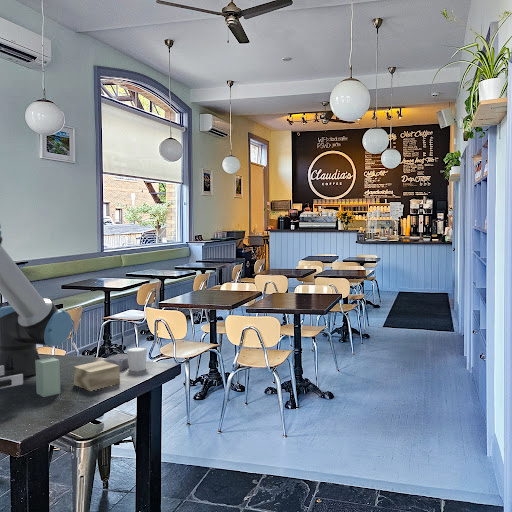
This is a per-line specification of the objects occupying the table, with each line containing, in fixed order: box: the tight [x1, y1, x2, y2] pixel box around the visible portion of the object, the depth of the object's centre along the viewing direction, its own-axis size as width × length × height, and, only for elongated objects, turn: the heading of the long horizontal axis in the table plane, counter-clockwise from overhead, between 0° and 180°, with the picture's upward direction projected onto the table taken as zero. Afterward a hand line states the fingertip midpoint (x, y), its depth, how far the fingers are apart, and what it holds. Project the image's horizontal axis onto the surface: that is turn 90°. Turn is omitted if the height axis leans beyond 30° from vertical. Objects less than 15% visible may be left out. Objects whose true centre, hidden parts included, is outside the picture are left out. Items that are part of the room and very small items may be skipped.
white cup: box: [126, 346, 148, 372], centre depth 186 cm, size 7×7×7 cm
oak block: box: [73, 360, 121, 392], centre depth 169 cm, size 10×10×6 cm
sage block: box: [35, 356, 61, 398], centre depth 160 cm, size 5×5×10 cm
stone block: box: [102, 353, 129, 372], centre depth 190 cm, size 12×5×10 cm
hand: (12, 374), depth 153 cm, fingers open, 13 cm apart
